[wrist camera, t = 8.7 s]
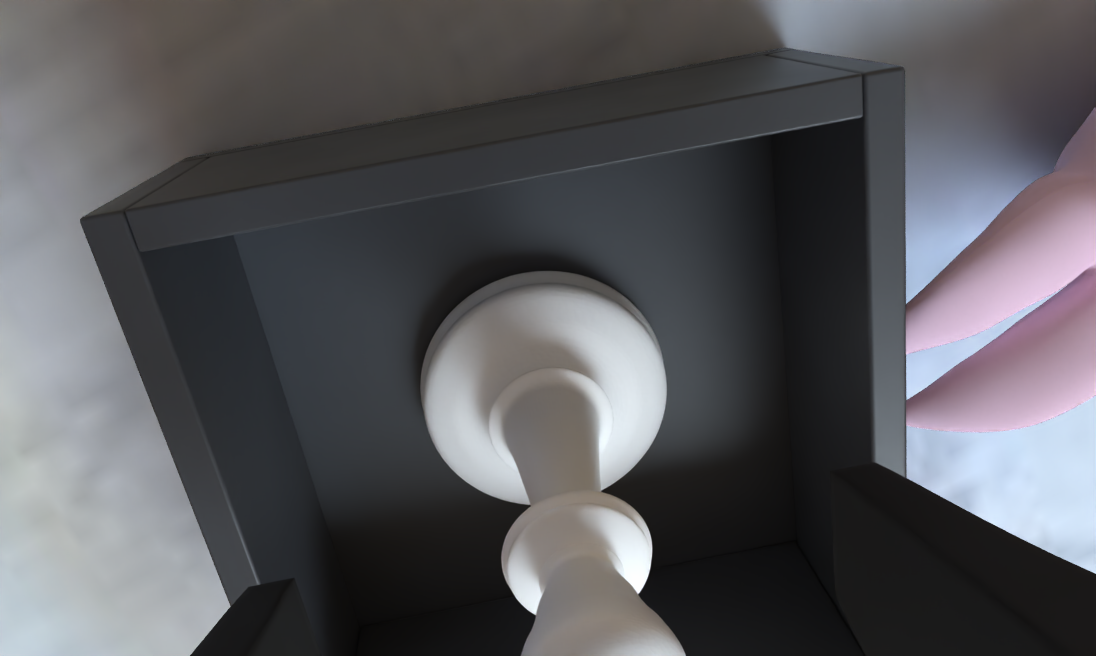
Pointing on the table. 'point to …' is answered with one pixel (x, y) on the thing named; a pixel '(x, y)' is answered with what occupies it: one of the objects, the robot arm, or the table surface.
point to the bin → (513, 248)
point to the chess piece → (557, 449)
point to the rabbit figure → (1018, 307)
